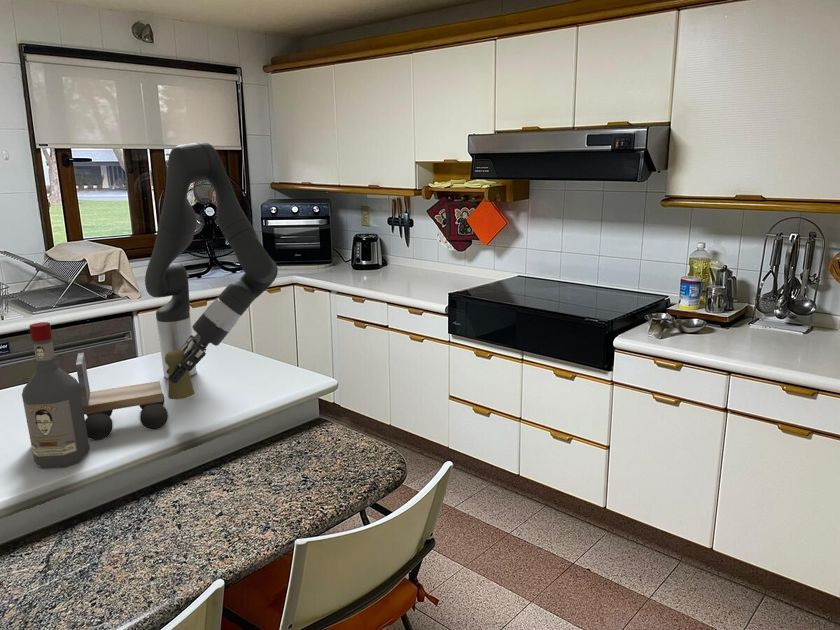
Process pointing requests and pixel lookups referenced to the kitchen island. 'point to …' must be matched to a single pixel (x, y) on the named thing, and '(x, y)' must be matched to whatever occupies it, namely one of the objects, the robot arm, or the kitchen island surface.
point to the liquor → (53, 407)
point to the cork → (184, 383)
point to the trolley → (119, 403)
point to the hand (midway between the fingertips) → (170, 377)
